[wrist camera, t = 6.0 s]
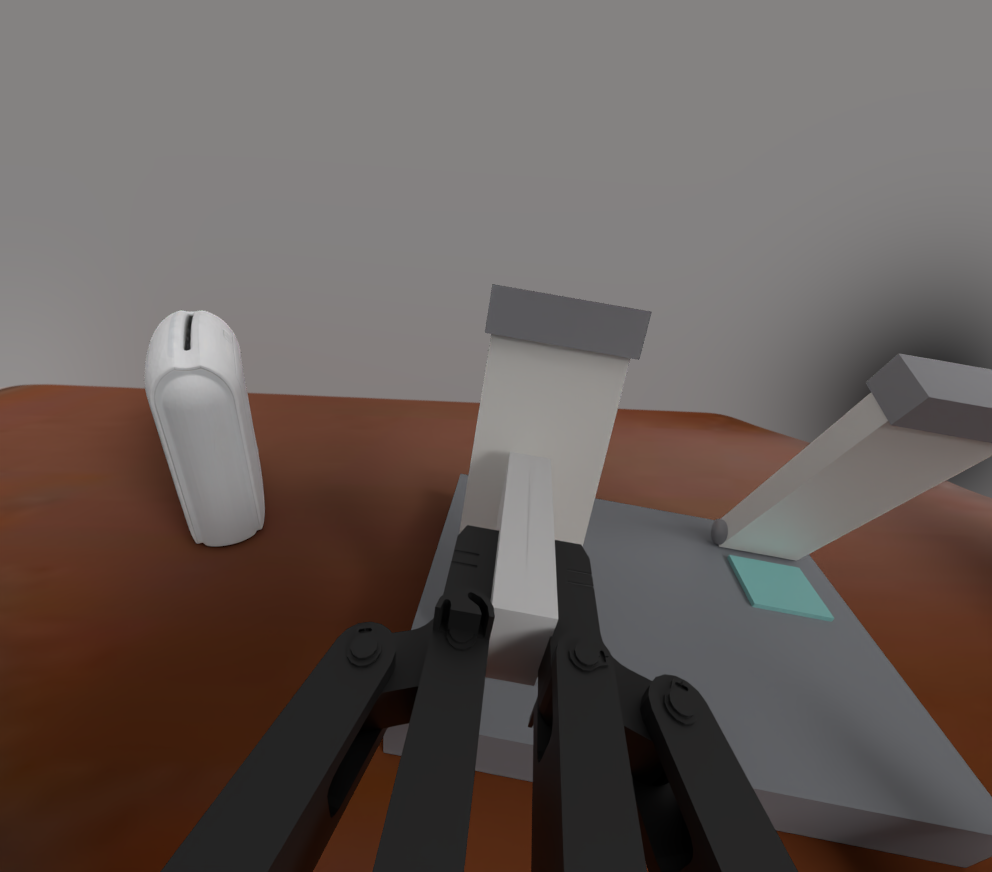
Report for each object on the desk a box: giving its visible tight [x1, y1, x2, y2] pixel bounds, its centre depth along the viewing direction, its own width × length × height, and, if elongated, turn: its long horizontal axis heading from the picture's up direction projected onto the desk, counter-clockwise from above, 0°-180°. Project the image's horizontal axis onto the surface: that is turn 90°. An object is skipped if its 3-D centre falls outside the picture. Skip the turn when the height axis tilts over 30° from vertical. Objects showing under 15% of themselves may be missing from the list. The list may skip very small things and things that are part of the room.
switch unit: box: [383, 474, 992, 868], centre depth 23 cm, size 16×24×3 cm, turn 84°
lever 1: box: [459, 284, 651, 547], centre depth 17 cm, size 2×5×15 cm, turn 83°
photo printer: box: [145, 310, 265, 547], centre depth 25 cm, size 10×4×12 cm, turn 30°
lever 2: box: [711, 354, 992, 561], centre depth 21 cm, size 2×5×15 cm, turn 85°
